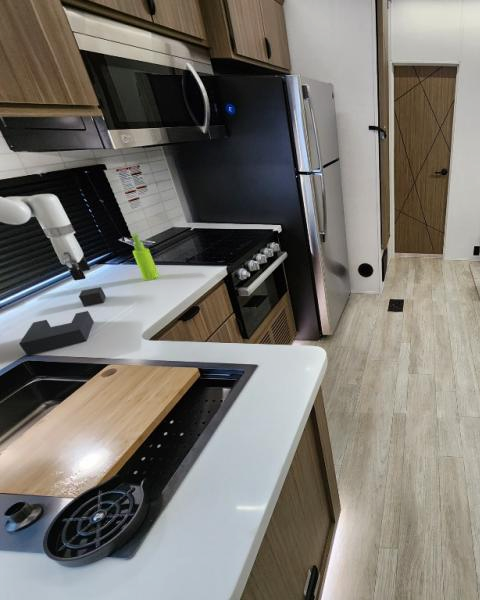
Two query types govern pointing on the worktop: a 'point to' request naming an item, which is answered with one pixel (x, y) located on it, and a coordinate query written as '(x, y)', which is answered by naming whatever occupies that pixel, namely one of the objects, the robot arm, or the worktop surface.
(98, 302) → the dark grey squat block
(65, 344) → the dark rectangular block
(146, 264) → the soap dispenser
